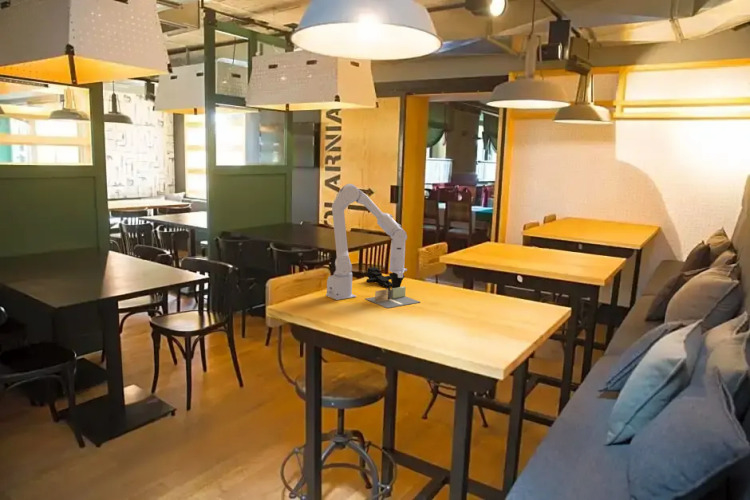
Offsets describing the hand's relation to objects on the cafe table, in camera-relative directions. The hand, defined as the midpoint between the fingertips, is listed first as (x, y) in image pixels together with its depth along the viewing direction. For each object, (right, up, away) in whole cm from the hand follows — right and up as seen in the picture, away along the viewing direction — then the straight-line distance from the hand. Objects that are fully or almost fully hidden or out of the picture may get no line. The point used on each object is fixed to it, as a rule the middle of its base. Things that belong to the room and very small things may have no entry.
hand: (395, 291), depth 217 cm
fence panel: (+1, -2, -2) cm, 3 cm away
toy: (-6, +1, +19) cm, 20 cm away
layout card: (-1, -3, -6) cm, 7 cm away
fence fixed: (-5, -3, -6) cm, 9 cm away
